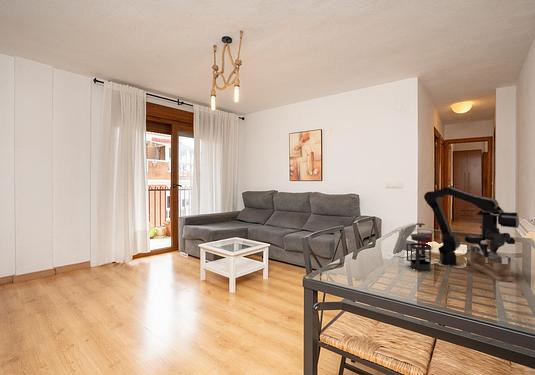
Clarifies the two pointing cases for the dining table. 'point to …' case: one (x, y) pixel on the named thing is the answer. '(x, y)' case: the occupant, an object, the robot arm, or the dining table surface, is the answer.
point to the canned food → (426, 234)
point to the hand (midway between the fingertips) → (489, 257)
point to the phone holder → (404, 239)
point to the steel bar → (492, 254)
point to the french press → (420, 252)
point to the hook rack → (497, 271)
